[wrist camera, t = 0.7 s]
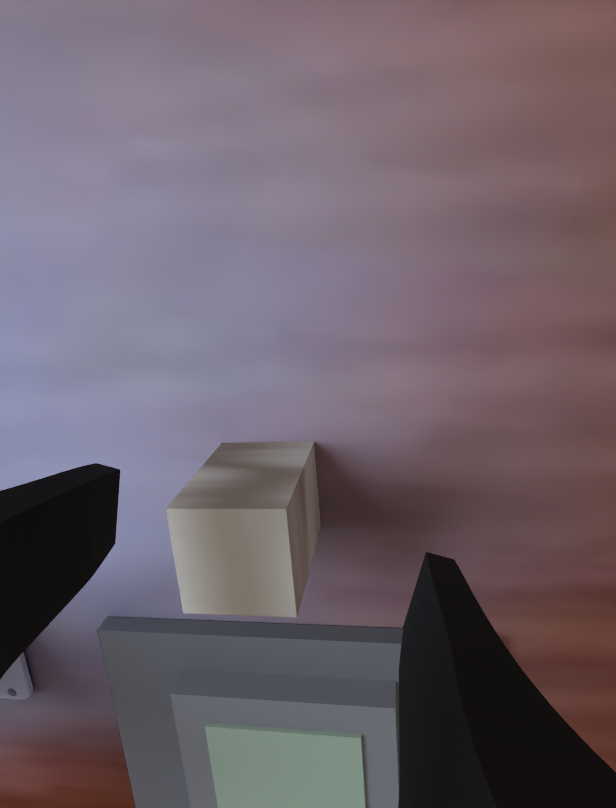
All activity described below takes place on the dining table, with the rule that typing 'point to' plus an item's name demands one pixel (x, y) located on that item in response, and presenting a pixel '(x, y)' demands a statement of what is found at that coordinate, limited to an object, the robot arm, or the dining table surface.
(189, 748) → the stepped stand
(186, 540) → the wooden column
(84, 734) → the dining table surface
